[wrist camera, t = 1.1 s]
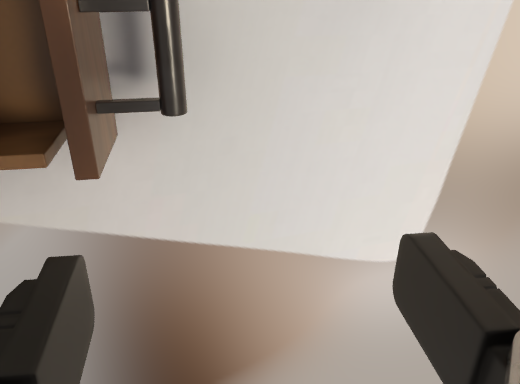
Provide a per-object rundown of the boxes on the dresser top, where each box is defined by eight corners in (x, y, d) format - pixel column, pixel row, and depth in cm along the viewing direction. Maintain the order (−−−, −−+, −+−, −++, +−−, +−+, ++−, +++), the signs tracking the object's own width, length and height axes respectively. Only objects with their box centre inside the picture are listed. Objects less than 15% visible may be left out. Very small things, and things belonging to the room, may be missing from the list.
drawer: (175, -67, 25) (170, -75, 19) (190, 131, 30) (191, 173, 24) (-169, -67, 23) (-295, -76, 17) (-90, 145, 28) (-166, 195, 22)
